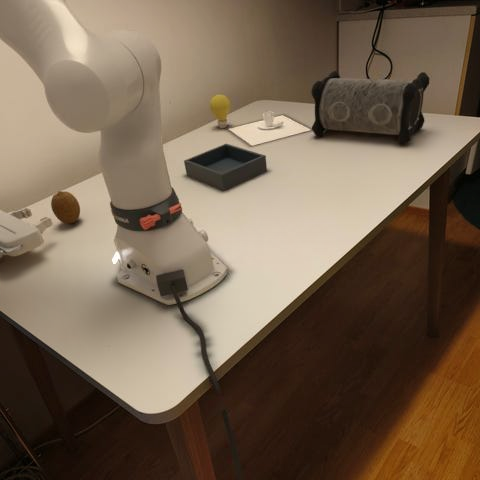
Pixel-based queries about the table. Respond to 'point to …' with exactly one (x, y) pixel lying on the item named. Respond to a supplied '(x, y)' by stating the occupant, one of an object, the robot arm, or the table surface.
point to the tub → (225, 166)
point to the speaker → (369, 105)
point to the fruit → (65, 207)
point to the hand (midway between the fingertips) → (39, 215)
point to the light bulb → (220, 109)
